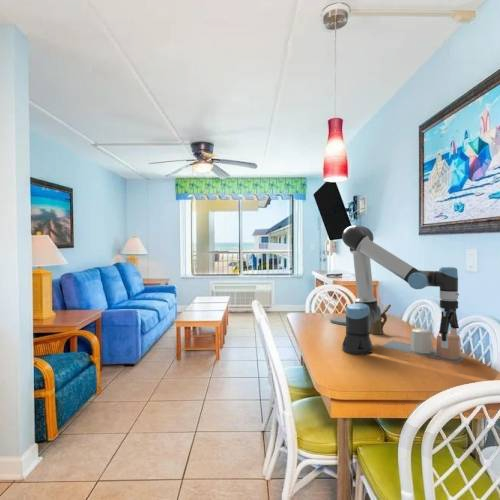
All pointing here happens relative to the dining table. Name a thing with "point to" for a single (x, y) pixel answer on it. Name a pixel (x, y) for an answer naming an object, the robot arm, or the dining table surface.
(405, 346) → the board
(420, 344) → the cream cup
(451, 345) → the terracotta cup
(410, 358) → the dining table surface
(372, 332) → the wooden mug
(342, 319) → the frisbee
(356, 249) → the robot arm
